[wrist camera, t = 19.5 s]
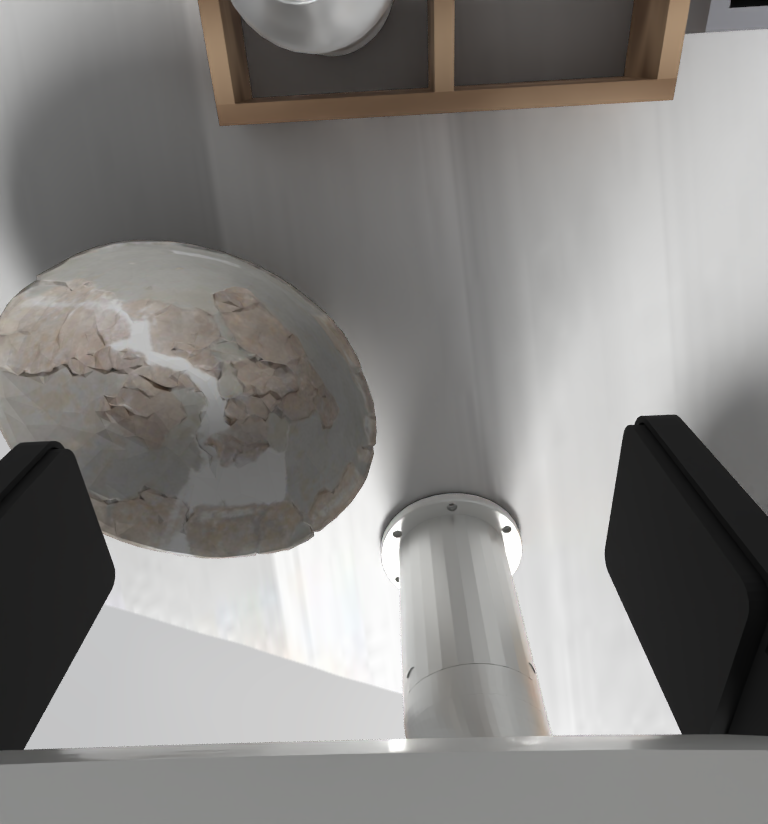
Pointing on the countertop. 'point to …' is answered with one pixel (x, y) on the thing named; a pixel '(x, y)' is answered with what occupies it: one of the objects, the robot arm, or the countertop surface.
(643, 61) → the walnut bottle rack
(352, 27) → the plastic bottle
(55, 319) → the ceramic bowl
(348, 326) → the countertop surface
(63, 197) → the countertop surface
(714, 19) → the button housing
